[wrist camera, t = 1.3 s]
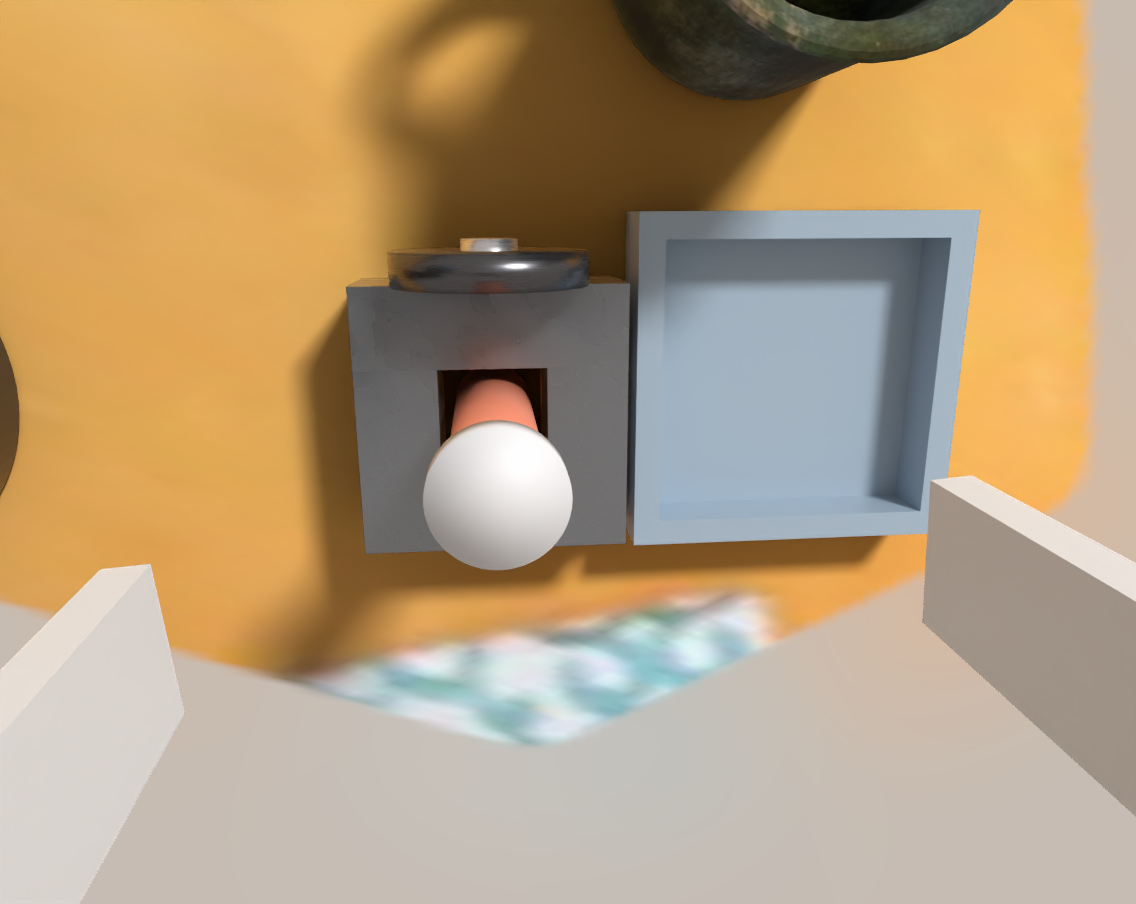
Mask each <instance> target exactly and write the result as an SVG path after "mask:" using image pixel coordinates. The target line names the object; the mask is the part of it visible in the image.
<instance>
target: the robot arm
mask: <svg viewBox="0 0 1136 904" xmlns="http://www.w3.org/2000/svg"><path fill="white" fill-rule="evenodd" d="M18 434H19V401H18V394H17V387H16V383H15V378H14V374H13V370H12V367H11V364H10V360H9V357H8V355H7V352H6V350H5V347H4V344H3V342H2V340H1V338H0V493H1V491H2V489H3V487H4V485H5V483H6V481H7V478H8V476H9V473H10V471H11V468H12V465H13V461H14V458H15V454H16V448H17V443H18ZM924 586H925V587H924V603H923V623H924V624H925V625H926V626H927V627H928V628H929V629H931V630H932V631H933V632H934V633H935V634H936V635H937V636H938V637H939V638H940V639H942V640H943V641H944V642H945V643H946V644H947V645H948V646H949V647H950V648H951V649H953V650H954V651H955V652H956V653H957V654H958V655H959V656H960V657H961V658H962V659H964V660H965V661H966V662H967V663H968V664H969V665H970V666H971V667H972V668H973V669H974V670H976V671H977V672H978V673H979V674H980V675H981V676H982V677H983V678H984V679H985V680H986V681H988V682H989V683H990V684H991V685H992V686H993V687H994V688H995V689H996V690H998V691H999V692H1000V693H1001V694H1002V695H1003V696H1004V697H1005V698H1006V699H1007V700H1009V701H1010V702H1011V703H1012V704H1013V705H1014V706H1015V707H1016V708H1017V709H1018V710H1019V711H1021V712H1022V713H1023V714H1024V715H1025V716H1026V717H1027V718H1028V719H1029V720H1030V721H1032V722H1033V723H1034V724H1035V725H1036V726H1037V727H1038V728H1039V729H1040V730H1041V731H1042V732H1044V733H1045V734H1046V735H1047V736H1048V737H1049V738H1050V739H1051V740H1052V741H1053V742H1055V743H1056V744H1057V745H1058V746H1059V747H1060V748H1061V749H1062V750H1063V751H1064V752H1065V753H1067V754H1068V755H1069V756H1070V757H1071V758H1073V760H1074V761H1075V762H1076V763H1078V764H1079V765H1080V766H1081V767H1082V768H1083V769H1084V770H1085V771H1086V772H1088V773H1089V774H1090V775H1091V776H1092V777H1093V778H1094V779H1095V780H1096V781H1097V782H1098V783H1100V784H1101V785H1102V786H1103V787H1104V788H1105V789H1106V790H1107V791H1108V792H1109V793H1110V794H1112V795H1113V796H1114V797H1115V798H1116V799H1117V800H1118V801H1119V802H1120V803H1121V804H1123V805H1124V806H1125V807H1126V808H1127V809H1128V810H1129V811H1130V812H1131V813H1132V814H1134V815H1135V816H1136V563H1135V562H1133V561H1131V560H1129V559H1127V558H1125V557H1124V556H1122V555H1120V554H1118V553H1116V552H1114V551H1112V550H1110V549H1109V548H1107V547H1105V546H1103V545H1101V544H1099V543H1097V542H1096V541H1094V540H1092V539H1090V538H1088V537H1086V536H1084V535H1082V534H1080V533H1079V532H1077V531H1075V530H1073V529H1071V528H1069V527H1067V526H1065V525H1064V524H1062V523H1060V522H1058V521H1056V520H1054V519H1052V518H1051V517H1049V516H1047V515H1045V514H1043V513H1041V512H1039V511H1037V510H1036V509H1034V508H1032V507H1030V506H1028V505H1026V504H1024V503H1022V502H1021V501H1019V500H1017V499H1015V498H1013V497H1011V496H1009V495H1007V494H1006V493H1004V492H1002V491H1000V490H998V489H996V488H994V487H992V486H991V485H989V484H987V483H985V482H983V481H981V480H979V479H977V478H976V477H974V476H964V477H955V478H945V479H936V480H930V497H929V515H928V532H927V550H926V568H925V585H924ZM183 715H184V708H183V704H182V700H181V695H180V691H179V687H178V682H177V678H176V674H175V669H174V665H173V660H172V656H171V652H170V647H169V643H168V638H167V634H166V630H165V625H164V621H163V617H162V612H161V608H160V603H159V599H158V595H157V590H156V586H155V582H154V577H153V573H152V569H151V564H145V565H136V566H126V567H117V568H108V569H100V570H99V571H98V572H97V573H96V574H95V575H94V576H93V577H92V578H91V579H90V580H89V581H88V582H87V583H86V584H85V585H84V586H83V587H82V588H81V589H80V590H79V591H78V592H77V593H76V594H75V595H74V596H73V597H72V598H71V599H70V600H69V601H68V602H67V603H66V604H65V605H64V606H63V607H62V608H61V609H60V610H59V611H58V612H57V613H56V614H55V615H54V616H53V617H52V618H51V619H50V620H49V621H48V622H47V623H46V625H45V626H43V628H42V629H40V630H39V632H38V633H37V634H35V635H34V637H32V638H31V639H30V641H29V642H28V643H26V645H25V646H24V647H22V649H21V650H20V651H19V652H18V653H17V654H16V655H15V656H14V657H13V658H12V659H11V660H10V661H9V662H8V663H7V664H6V665H5V666H4V667H3V668H2V669H1V670H0V904H80V902H81V900H82V899H83V897H84V895H85V893H86V892H87V890H88V888H89V886H90V884H91V882H92V881H93V879H94V877H95V875H96V873H97V872H98V870H99V868H100V866H101V864H102V862H103V861H104V859H105V857H106V855H107V853H108V852H109V850H110V848H111V846H112V844H113V842H114V840H115V838H116V837H117V835H118V833H119V832H120V830H121V828H122V826H123V824H124V823H125V821H126V819H127V817H128V815H129V813H130V811H131V810H132V808H133V806H134V804H135V802H136V801H137V799H138V797H139V795H140V793H141V792H142V790H143V788H144V786H145V784H146V783H147V781H148V779H149V777H150V775H151V773H152V772H153V769H154V768H155V766H156V764H157V763H158V761H159V759H160V757H161V755H162V753H163V752H164V750H165V748H166V746H167V744H168V743H169V741H170V739H171V737H172V735H173V733H174V731H175V730H176V728H177V726H178V724H179V722H180V721H181V719H182V717H183Z"/></svg>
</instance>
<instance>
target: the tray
mask: <svg viewBox="0 0 1136 904" xmlns="http://www.w3.org/2000/svg"><path fill="white" fill-rule="evenodd" d="M979 216H980V210H849V211H627V212H626V279H625V282H628V283H630V304H629V367H628V431H627V494H626V529H627V532H628V534H629V536H630V538H631V540H632V543H633V545H655V544H679V543H704V542H729V541H754V540H779V539H803V538H828V537H853V536H878V535H903V534H927V532H928V515H929V497H930V480H936V479H945V478H947V477H948V469H949V461H950V452H951V444H952V436H953V428H954V420H955V412H956V403H957V395H958V387H959V379H960V371H961V363H962V354H963V346H964V338H965V330H966V322H967V314H968V306H969V297H970V289H971V281H972V273H973V265H974V257H975V248H976V240H977V232H978V224H979Z"/></svg>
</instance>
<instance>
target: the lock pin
mask: <svg viewBox="0 0 1136 904" xmlns="http://www.w3.org/2000/svg"><path fill="white" fill-rule="evenodd" d="M572 501H573V497H572V487H571V482H570V479H569V476H568V473H567V470H566V467H565V464H564V461H563V459H562V458H561V456H560V454H559V452H558V451H557V449H556V448H555V447H554V445H553V444H552V443H551V442H550V441H549V440H548V439H547V438H546V437H544V436H543V435H542V434H541V433H539V432H538V429H537V425H536V421H535V417H534V413H533V409H532V406H531V402H530V398H529V394H528V390H527V387H526V385H525V383H524V381H523V380H522V378H521V377H520V376H519V375H518V374H517V373H516V372H515V371H513V370H512V369H473V370H472V371H470V372H469V373H468V374H467V375H466V376H465V377H464V378H463V380H462V381H461V383H460V385H459V387H458V390H457V395H456V402H455V409H454V416H453V423H452V430H451V437H450V438H449V439H448V440H446V441H445V442H444V443H443V445H442V446H441V447H440V448H439V449H438V451H437V452H436V454H435V456H434V457H433V459H432V461H431V464H430V466H429V469H428V473H427V477H426V481H425V486H424V493H423V508H424V514H425V518H426V522H427V524H428V527H429V529H430V531H431V533H432V535H433V536H434V538H435V539H436V541H437V542H438V543H439V544H440V546H441V547H442V548H443V549H444V550H445V551H446V552H448V553H449V554H450V555H452V556H453V557H454V558H456V559H458V560H459V561H461V562H463V563H465V564H468V565H470V566H473V567H477V568H480V569H487V570H508V569H513V568H518V567H521V566H524V565H527V564H529V563H531V562H533V561H535V560H537V559H538V558H540V557H541V556H543V555H544V554H545V553H547V552H548V551H549V550H550V549H551V548H552V547H553V546H554V545H555V544H556V543H557V542H558V540H559V539H560V537H561V536H562V534H563V533H564V531H565V529H566V527H567V524H568V522H569V519H570V515H571V510H572Z"/></svg>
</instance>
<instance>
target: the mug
mask: <svg viewBox="0 0 1136 904" xmlns="http://www.w3.org/2000/svg"><path fill="white" fill-rule="evenodd" d="M612 1H613V4H614V7H615V9H616V11H617V13H618V16H619V18H620V20H621V23H622V25H623V27H624V28H625V30H626V31H627V33H628V35H629V36H630V38H631V39H632V41H633V43H634V44H635V45H636V47H637V48H638V49H639V50H640V51H641V52H642V54H643V55H644V56H645V57H646V58H647V59H648V61H649V62H650V63H652V64H653V65H654V66H655V67H656V68H657V69H659V70H660V71H661V72H662V73H663V74H665V75H666V76H667V77H669V78H670V79H672V80H674V81H675V82H677V83H679V84H680V85H682V86H684V87H686V88H688V89H691V90H693V91H696V92H698V93H701V94H703V95H707V96H712V97H716V98H721V99H728V100H752V99H761V98H767V97H771V96H774V95H778V94H781V93H784V92H787V91H790V90H792V89H795V88H797V87H800V86H802V85H805V84H807V83H810V82H812V81H815V80H817V79H820V78H822V77H824V76H827V75H829V74H832V73H834V72H837V71H839V70H842V69H844V68H847V67H849V66H852V65H854V64H857V63H878V62H887V61H895V60H904V59H908V58H911V57H914V56H918V55H921V54H925V53H928V52H932V51H935V50H938V49H940V48H942V47H944V46H946V45H948V44H950V43H952V42H954V41H957V40H959V39H961V38H963V37H965V36H967V35H969V34H970V33H972V32H973V31H974V30H976V29H977V28H979V27H980V26H982V25H983V24H985V23H986V22H988V21H989V20H991V19H992V18H993V17H995V16H996V15H998V14H999V13H1000V12H1001V11H1002V10H1003V9H1004V8H1005V7H1006V6H1007V5H1008V4H1009V3H1010V2H1012V1H1013V0H612Z"/></svg>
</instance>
